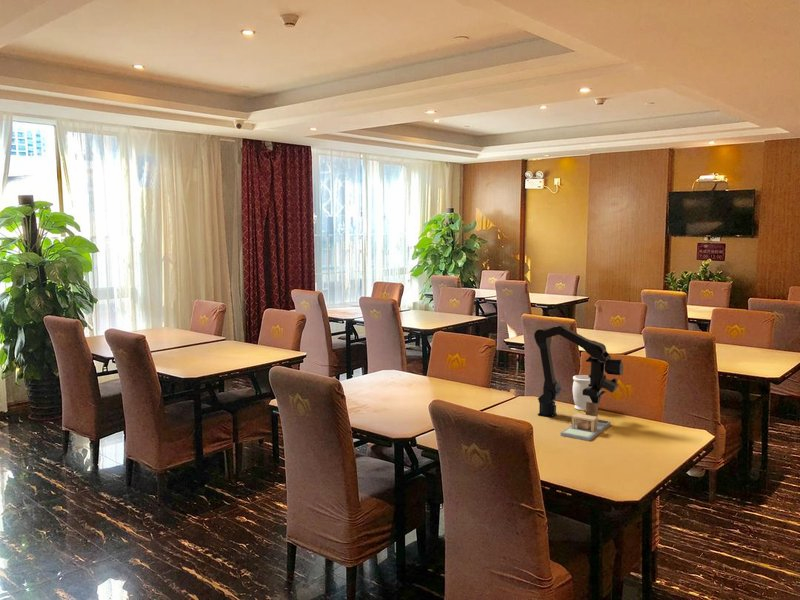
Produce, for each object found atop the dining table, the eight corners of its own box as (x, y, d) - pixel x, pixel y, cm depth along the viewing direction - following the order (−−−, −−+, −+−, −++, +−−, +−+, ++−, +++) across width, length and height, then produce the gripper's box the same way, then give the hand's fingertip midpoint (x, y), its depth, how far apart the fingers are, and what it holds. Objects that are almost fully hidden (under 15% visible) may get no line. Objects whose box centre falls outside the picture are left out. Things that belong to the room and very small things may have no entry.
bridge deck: (560, 435, 265) (560, 420, 264) (583, 419, 286) (583, 405, 285) (589, 441, 258) (589, 425, 257) (610, 424, 279) (610, 410, 278)
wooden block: (577, 427, 270) (577, 407, 269) (586, 421, 279) (586, 401, 278) (588, 430, 267) (588, 409, 266) (597, 423, 276) (598, 403, 275)
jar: (597, 411, 298) (598, 379, 296) (575, 411, 298) (576, 380, 296) (591, 405, 309) (592, 374, 307) (569, 405, 309) (570, 374, 307)
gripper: (608, 379, 267) (607, 416, 269) (622, 370, 282) (621, 405, 284) (582, 375, 273) (581, 411, 275) (597, 367, 289) (596, 401, 290)
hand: (596, 407), depth 281 cm, fingers closed
